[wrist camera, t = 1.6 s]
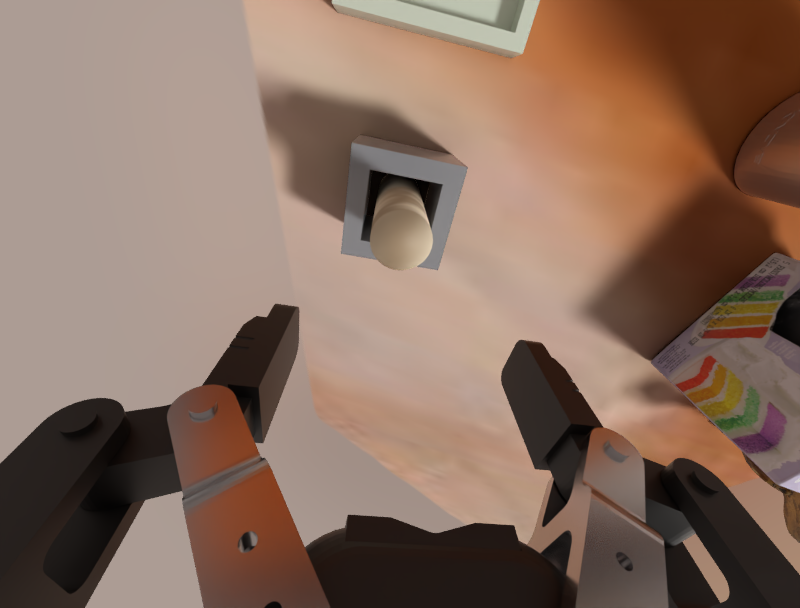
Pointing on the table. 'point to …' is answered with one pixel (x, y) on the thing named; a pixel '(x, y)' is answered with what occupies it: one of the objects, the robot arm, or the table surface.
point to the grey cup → (409, 163)
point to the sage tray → (454, 20)
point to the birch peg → (400, 224)
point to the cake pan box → (748, 367)
